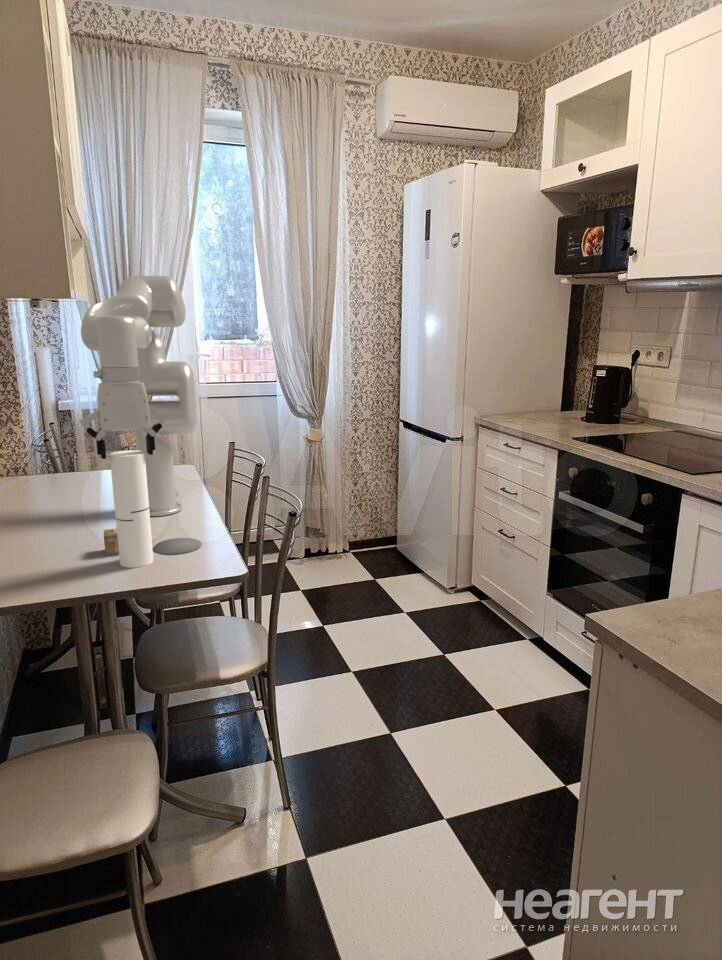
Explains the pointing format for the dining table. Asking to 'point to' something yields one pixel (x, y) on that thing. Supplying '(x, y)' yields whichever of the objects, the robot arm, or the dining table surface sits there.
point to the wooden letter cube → (111, 542)
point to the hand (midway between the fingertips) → (127, 456)
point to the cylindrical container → (131, 508)
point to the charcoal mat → (177, 546)
